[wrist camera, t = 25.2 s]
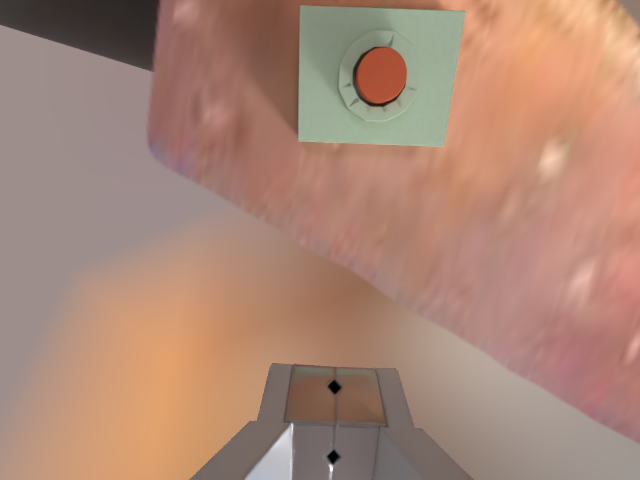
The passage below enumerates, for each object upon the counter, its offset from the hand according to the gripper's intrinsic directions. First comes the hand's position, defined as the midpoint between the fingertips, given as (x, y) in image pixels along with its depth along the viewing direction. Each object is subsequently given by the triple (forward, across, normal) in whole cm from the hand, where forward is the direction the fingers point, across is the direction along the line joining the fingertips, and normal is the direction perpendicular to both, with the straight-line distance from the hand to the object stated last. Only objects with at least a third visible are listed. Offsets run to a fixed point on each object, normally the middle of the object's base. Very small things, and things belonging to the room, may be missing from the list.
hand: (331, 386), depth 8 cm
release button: (+24, -4, -10) cm, 27 cm away
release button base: (+29, -4, -10) cm, 31 cm away
